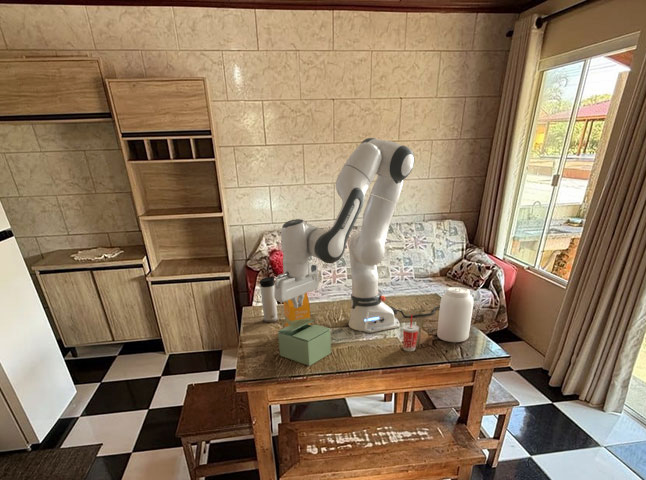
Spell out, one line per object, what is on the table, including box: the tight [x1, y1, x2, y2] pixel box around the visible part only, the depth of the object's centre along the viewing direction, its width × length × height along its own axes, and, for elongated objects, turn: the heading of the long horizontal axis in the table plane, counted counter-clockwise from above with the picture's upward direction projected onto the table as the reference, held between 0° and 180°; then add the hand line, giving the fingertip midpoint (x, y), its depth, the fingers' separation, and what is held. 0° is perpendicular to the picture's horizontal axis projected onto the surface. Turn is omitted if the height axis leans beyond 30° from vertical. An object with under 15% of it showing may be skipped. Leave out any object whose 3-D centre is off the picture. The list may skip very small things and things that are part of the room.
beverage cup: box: [402, 314, 420, 352], centre depth 155 cm, size 6×6×14 cm
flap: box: [277, 319, 315, 333], centre depth 154 cm, size 7×13×1 cm, turn 141°
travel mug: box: [259, 276, 279, 323], centre depth 185 cm, size 6×7×20 cm
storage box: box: [277, 324, 332, 367], centre depth 155 cm, size 15×13×10 cm
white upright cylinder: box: [436, 286, 475, 343], centre depth 162 cm, size 12×12×20 cm
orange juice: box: [283, 293, 312, 327], centre depth 169 cm, size 8×9×20 cm
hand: (298, 306), depth 149 cm, fingers closed
